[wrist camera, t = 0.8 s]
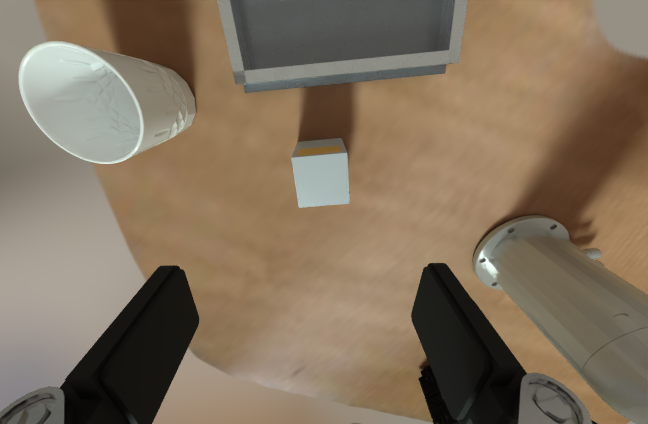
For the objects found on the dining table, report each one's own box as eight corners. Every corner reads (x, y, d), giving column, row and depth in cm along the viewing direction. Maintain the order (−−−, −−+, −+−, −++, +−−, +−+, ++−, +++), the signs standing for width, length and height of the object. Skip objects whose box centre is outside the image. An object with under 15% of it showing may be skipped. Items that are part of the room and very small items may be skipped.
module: (341, 136, 28) (347, 151, 22) (343, 179, 30) (349, 203, 24) (297, 140, 28) (291, 156, 22) (303, 182, 31) (298, 207, 24)
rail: (456, -63, 21) (480, -89, 18) (440, 73, 25) (457, 71, 22) (221, -37, 21) (204, -57, 18) (247, 92, 26) (237, 93, 23)
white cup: (110, 99, 26) (1, 106, 17) (148, 36, 24) (43, 7, 15) (177, 153, 29) (112, 183, 20) (217, 102, 26) (164, 111, 17)
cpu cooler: (429, 382, 51) (452, 446, 42) (412, 371, 49) (433, 435, 40) (473, 359, 48) (509, 423, 39) (457, 347, 46) (490, 411, 37)
